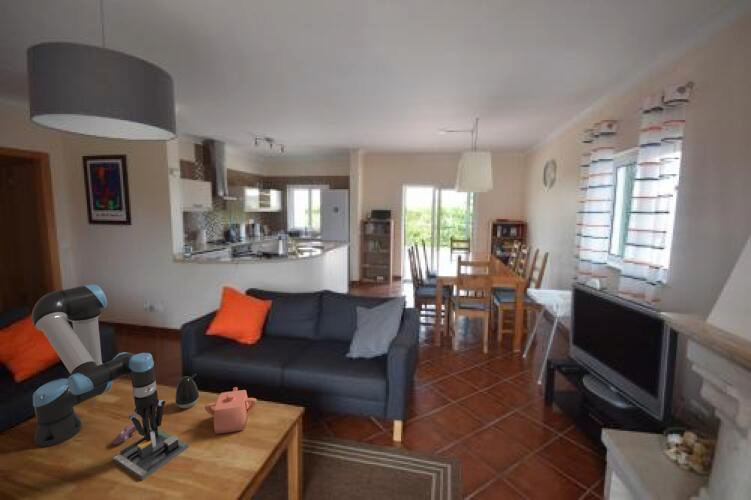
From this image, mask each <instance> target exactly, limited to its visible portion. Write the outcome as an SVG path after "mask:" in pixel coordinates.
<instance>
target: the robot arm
mask: <svg viewBox="0 0 751 500" xmlns="http://www.w3.org/2000/svg"><path fill="white" fill-rule="evenodd" d="M107 305H108V299H107V296H106V293H105V292H104V291H103V289H102V288H101V287H100V286H99V285H97V284H94V283H93V284H85V285H81V286H76V287H71V288H67V289H62V290H56V291H52V292H49V293H47V294H45V295H43V296H42V297H40V299H39V300H37V302H36V303H35V305H34V307H33V308H32V311H31V312H32V313H31V321H32V324H33V325H34V327H35V328H36V330H38V331H41V332H42V333H43V334H44V336H45V337H46V339H47V340H48V341H49V344H50V345H51V347H52V348H53V349H54V351H55V352H56V354H57V356H58V357H59V358H60V360H61V362H62V363H63V364H64V366H65V368H66V369H67V371H68V373H69V374H70V376H69V377H68V378H58V379H55V380H51V381H49V382H47V383H44V384H43V385H41V386H40V387H39V388H37V389H36V390H35V391H34V392H33V394H32V406H33V408H34V414H35V417H36V418H35V419H36V423H37V427H36V430H35V434H34V439H33V440H34V444H35V446H37V447H39V448H45V447H46V448H47V447H51V446H56V445H58V444H62V443H64V442H65V441H68V440H69V439H71V438H73V437H75V436H76V435H77V434H78V433H80V431H81V430H82V428H83V424H82V420H81V419H80V417H78V415H77V414H76V412H75V409H74V407H75V406H77V405H80V404H82V403H84V402H86V401H88V400H91V399H93V398H95V397H97V396H101V395H103V394H104V393H106V392H108V391H109V390H110V389H111V388H112V387H113V384H114V381H115V380H118V379H120V378H122V377H125V376H127V377H130V379H131V383H132V384H131V386H132V392H133V401H134V406H135V407H134V413H133V414H132V415H130V416H129V417H128V419H129V420H130V421H131V422H132V424H134V425H135V427H136V429H137V431H136V432H137V433H138V434H139V435H141V436H142V437H144V435H145V440H146V441H150V440H151V441H152V445H153V447H155V446H156V439H155V437H156V436H157V430H159V428H158V427H161V425H162V421H163V413H164V406H165V404H166V400H164V399H158V390H157V382H156V381H157V380H156V373H155V365H154V364H155V362H154V359H153V355H152V354H151V353H150V352H141V353H136V354H134V353H131V352H126V351H124V352H119V353H117V355H115V356H114V357H112V360H109V361H107V362H103V360H102V351H101V338H100V330H99V329H100V328H99V317H101V315H102V313H103V312H102V309H105V308H107ZM68 321H70V322H71V323H72V326H71V324H70V323H69V322H68ZM139 416H140V417H141V422H142V424H141V422H140V420H139ZM150 428H151V429H150Z"/></svg>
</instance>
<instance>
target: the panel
mask: <svg viewBox="0 0 751 500" xmlns="http://www.w3.org/2000/svg"><path fill="white" fill-rule="evenodd" d="M150 429H151V428H150ZM155 439H156V446H155V447H153V452H151V453H150V454H148V455H147V456H145V457H144V458H141V457H140V456H138V449H137V445H138V444H139V443H141V442H143V441H144V440H145V435H144V436H142V438H140V439H138V440H137V441H135V442H133V443H132V444H130V445H128V446H126V447H125V448H123V449H121V450H120V451H119V453H118V454H116V455H114V456H113V457H112V460H113V462H114V463H116V464H118V465H119V466H120V467H122V468H123V469H125V470H126V471H128V472H130V473H131V474H133V476H135V477H136V478H138V479H140V480H142V481H143V480H145V479H146V478H147V477H149V476H151V475H152V474H154V472H156V471H157V470H159V469H160V468H162V467H164V465H166V464H168V463H169V462H170V461H171V460H173V459H175V458H176V457H177V456H180V454H182V453H183V452H185V451H186V450H187V449H188V448H189V443H187V442H185V441H183V440H181V439H180V438H179V437H177V436H175V435H174V434H173V435H172V434H169V433H168V432H167V431H164V430H163V429H159V428H158V430H157V436H156V437H155Z"/></svg>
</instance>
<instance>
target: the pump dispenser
mask: <svg viewBox="0 0 751 500" xmlns="http://www.w3.org/2000/svg"><path fill="white" fill-rule="evenodd" d="M196 376H197V374H196V373H194V374H192V375H191V376H187V375H186V376H183V377H181V378H180V379H179V381H178V383H177V385H176V386H177V387H176V391H175V396H174V397H175V404H176V405H177V406H178V407H179V408H181V409H188V408H191V407H193V406H194V405H196V404H197V403H198V399H199V396H200V392H199V389H198V386H197V384H196V382H195V381H194V380H193V379H194V378H195V377H196Z"/></svg>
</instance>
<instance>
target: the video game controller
mask: <svg viewBox="0 0 751 500" xmlns="http://www.w3.org/2000/svg"><path fill="white" fill-rule="evenodd" d="M136 432H138V431H137V429H136V427H135V425H134V424H133V423H132V424H129V425H126V427H125V428H124V429H123V430H122V431H121V432H120V433H119V434H118V435H117V436H116V437H115V438H114V439H113V440H112V444H113V445H119V444H120V443H121V442H126V441H127V440H128V439H129V438H130V437H132V436H134V435H135V434H136Z"/></svg>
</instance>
